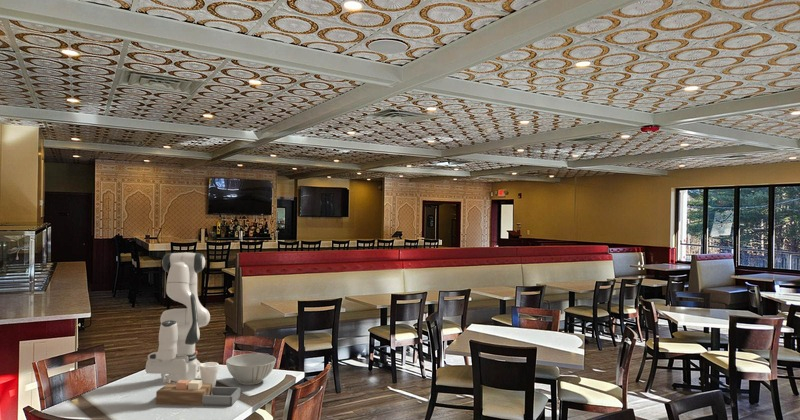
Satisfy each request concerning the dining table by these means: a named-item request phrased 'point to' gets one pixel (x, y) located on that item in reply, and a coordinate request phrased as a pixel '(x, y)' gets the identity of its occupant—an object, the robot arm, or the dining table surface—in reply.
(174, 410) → the dining table surface
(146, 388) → the dining table surface
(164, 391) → the walnut platform
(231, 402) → the box
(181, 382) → the salmon orange block
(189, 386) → the cream block
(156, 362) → the robot arm
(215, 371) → the foam cup
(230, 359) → the decorative bowl
